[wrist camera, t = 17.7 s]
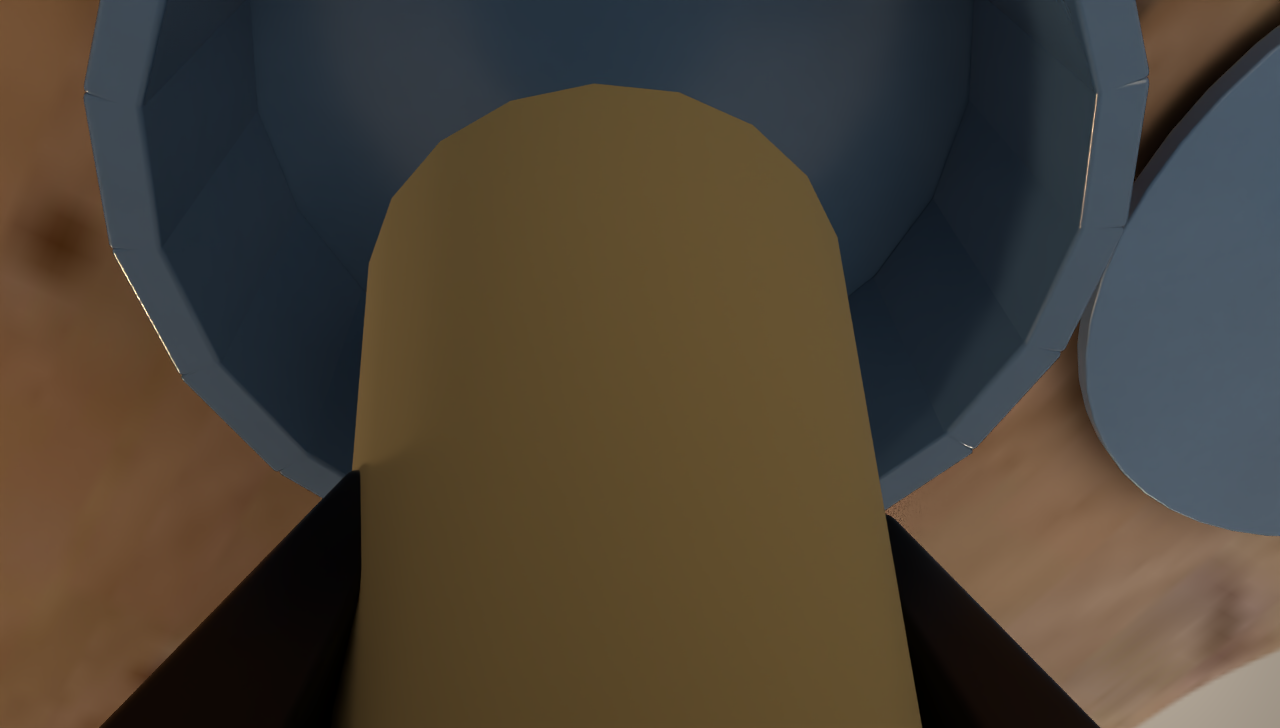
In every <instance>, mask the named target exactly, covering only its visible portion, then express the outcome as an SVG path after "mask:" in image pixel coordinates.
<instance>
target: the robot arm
mask: <svg viewBox="0 0 1280 728" xmlns="http://www.w3.org/2000/svg"><path fill="white" fill-rule="evenodd" d="M885 516H886V521H887V527H888V533H889V539H890V545H891V550H892V556H893V562H894V568H895V574H896V579H897V585H898V591H899V597H900V602H901V608H902V614H903V620H904V626H905V631H906V637H907V643H908V649H909V655H910V660H911V666H912V672H913V678H914V684H915V689H916V695H917V701H918V707H919V713H920V718H921V724H922V728H1100V727H1099V726H1098V725H1097V724H1096V723H1095V722H1094V721H1093V720H1092V719H1091V718H1090V717H1089V716H1088V715H1087V714H1086V713H1085V712H1084V711H1083V710H1082V709H1081V708H1080V707H1079V706H1078V705H1077V704H1076V703H1075V702H1074V701H1073V700H1072V699H1071V698H1070V696H1069V695H1068V694H1067V693H1066V692H1065V691H1064V690H1063V689H1062V688H1061V687H1060V686H1059V685H1058V684H1057V683H1056V682H1055V681H1054V680H1053V679H1052V678H1051V677H1050V676H1049V675H1048V674H1047V673H1046V672H1045V671H1044V670H1043V669H1042V668H1041V667H1040V666H1039V665H1038V664H1037V663H1036V662H1035V661H1034V660H1033V659H1032V658H1031V657H1030V656H1029V655H1028V654H1027V653H1026V652H1025V651H1024V650H1023V649H1022V648H1021V647H1020V646H1019V645H1018V644H1017V643H1016V642H1015V641H1014V640H1013V639H1012V638H1011V637H1010V636H1009V635H1008V634H1007V633H1006V632H1005V630H1004V629H1003V628H1002V627H1001V626H1000V625H999V624H998V623H997V622H996V621H995V620H994V619H993V618H992V617H991V616H990V615H989V614H988V613H987V612H986V611H985V610H984V609H983V608H982V607H981V606H980V605H979V604H978V603H977V602H976V601H975V600H974V599H973V598H972V597H971V596H970V595H969V594H968V593H967V592H966V591H965V590H964V589H963V588H962V587H961V586H960V585H959V584H958V583H957V582H956V581H955V580H954V579H953V578H952V577H951V576H950V575H949V574H948V573H947V572H946V571H945V570H944V569H943V568H942V567H941V566H940V564H939V563H938V562H937V561H936V560H935V559H934V558H933V557H932V556H931V555H930V554H929V553H928V552H927V551H926V550H925V549H924V548H923V547H922V546H921V545H920V544H919V543H918V542H917V541H916V540H915V539H914V538H913V537H912V536H911V535H910V534H909V533H908V532H907V531H906V530H905V529H904V528H903V527H902V526H901V525H900V524H899V523H898V522H897V521H896V520H895V519H894V518H892V517H891V516H889V515H886V514H885ZM360 583H361V483H360V470H353V471H351V472H349V473H348V474H346V475H345V476H344V477H343V478H342V480H341V481H340V482H339V483H338V484H337V485H336V486H335V487H334V488H333V489H332V490H331V491H330V492H329V493H328V494H327V495H326V496H325V497H324V498H323V499H322V500H321V501H320V502H319V503H318V504H317V505H316V506H315V507H314V508H313V509H312V510H311V511H310V512H309V513H308V514H307V515H306V516H305V517H304V518H303V520H302V521H301V522H300V523H299V524H298V525H297V526H296V527H295V528H294V529H293V530H292V531H291V532H290V533H289V534H288V535H287V536H286V537H285V538H284V539H283V540H282V541H281V542H280V543H279V544H278V545H277V546H276V547H275V548H274V549H273V550H272V551H271V552H270V553H269V554H268V555H267V556H266V557H265V558H264V559H263V560H262V562H261V563H260V564H259V565H258V566H257V567H256V568H255V569H254V570H253V571H252V572H251V573H250V574H249V575H248V576H247V577H246V578H245V579H244V580H243V581H242V582H241V583H240V584H239V585H238V586H237V587H236V588H235V589H234V590H233V591H232V592H231V593H230V594H229V595H228V596H227V597H226V598H225V599H224V600H223V601H222V603H221V604H220V605H219V606H218V607H217V608H216V609H215V610H214V611H213V612H212V613H211V614H210V615H209V616H208V617H207V618H206V619H205V620H204V621H203V622H202V623H201V624H200V625H199V626H198V627H197V628H196V629H195V630H194V631H193V632H192V633H191V634H190V635H189V636H188V637H187V638H186V639H185V640H184V641H183V642H182V643H181V645H180V646H179V647H178V648H177V649H176V650H175V651H174V652H173V653H172V654H171V655H170V656H169V657H168V658H167V659H166V660H165V661H164V662H163V663H162V664H161V665H160V666H159V667H158V668H157V669H156V670H155V671H154V672H153V673H152V674H151V675H150V676H149V677H148V678H147V679H146V680H145V681H144V682H143V683H142V684H141V685H140V687H139V688H138V689H137V690H136V691H135V692H134V693H133V694H132V695H131V696H130V697H129V698H128V699H127V700H126V701H125V702H124V703H123V704H122V705H121V706H120V707H119V708H118V709H117V710H116V711H115V712H114V713H113V714H112V715H111V716H110V717H109V718H108V719H107V720H106V721H105V722H104V723H103V724H102V725H101V726H100V727H99V728H331V724H332V712H333V707H334V703H335V698H336V694H337V690H338V685H339V681H340V676H341V672H342V668H343V663H344V659H345V654H346V650H347V646H348V641H349V637H350V632H351V628H352V624H353V619H354V615H355V610H356V606H357V602H358V597H359V592H360Z"/></svg>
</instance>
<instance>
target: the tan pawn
mask: <svg viewBox="0 0 1280 728" xmlns="http://www.w3.org/2000/svg"><path fill="white" fill-rule="evenodd" d="M353 470H360V483H361V583H360V592H359V597H358V602H357V606H356V610H355V615H354V619H353V624H352V628H351V632H350V637H349V641H348V646H347V650H346V654H345V659H344V663H343V668H342V672H341V676H340V681H339V685H338V690H337V694H336V698H335V703H334V707H333V712H332V724H331V728H922V724H921V718H920V713H919V707H918V701H917V695H916V689H915V684H914V678H913V672H912V666H911V660H910V655H909V649H908V643H907V637H906V631H905V626H904V620H903V614H902V608H901V602H900V597H899V591H898V585H897V579H896V574H895V568H894V562H893V556H892V550H891V545H890V539H889V533H888V527H887V521H886V516H885V510H884V504H883V498H882V492H881V487H880V481H879V475H878V469H877V463H876V458H875V452H874V446H873V440H872V434H871V429H870V423H869V417H868V411H867V406H866V400H865V394H864V388H863V382H862V377H861V371H860V365H859V359H858V353H857V348H856V342H855V336H854V330H853V324H852V319H851V313H850V307H849V301H848V295H847V290H846V284H845V278H844V272H843V266H842V261H841V255H840V249H839V243H838V237H837V235H836V233H835V231H834V229H833V227H832V225H831V223H830V221H829V219H828V217H827V215H826V213H825V211H824V209H823V207H822V205H821V203H820V201H819V199H818V197H817V195H816V193H815V191H814V189H813V187H812V185H811V183H810V181H809V178H808V176H807V175H806V174H805V173H803V172H802V171H801V170H800V169H799V168H798V167H797V166H796V165H795V164H794V163H793V162H792V161H791V160H790V159H789V158H787V157H786V156H785V155H784V154H783V153H782V152H781V151H780V150H779V149H778V148H777V147H776V146H775V145H774V144H773V143H771V142H770V141H769V140H768V139H767V138H766V137H765V136H764V135H763V134H762V133H761V132H760V131H759V130H758V129H757V128H755V127H754V126H753V125H752V124H749V123H747V122H745V121H743V120H740V119H738V118H736V117H734V116H731V115H729V114H727V113H724V112H722V111H720V110H718V109H715V108H713V107H711V106H709V105H706V104H704V103H702V102H700V101H697V100H695V99H693V98H691V97H688V96H686V95H684V94H682V93H679V92H672V91H662V90H653V89H643V88H633V87H623V86H614V85H604V84H589V85H584V86H579V87H575V88H570V89H565V90H560V91H555V92H551V93H546V94H541V95H536V96H531V97H527V98H522V99H517V100H512V101H509V102H508V103H506V104H504V105H502V106H501V107H499V108H497V109H495V110H494V111H492V112H490V113H489V114H487V115H485V116H483V117H482V118H480V119H478V120H476V121H475V122H473V123H471V124H469V125H468V126H466V127H464V128H463V129H461V130H459V131H457V132H456V133H454V134H452V135H450V136H449V137H447V138H445V139H443V140H442V141H440V142H439V143H438V145H437V146H436V147H435V148H434V149H433V150H432V152H431V153H430V154H429V155H428V156H427V157H426V159H425V160H424V161H423V162H422V163H421V164H420V166H419V167H418V168H417V169H416V170H415V172H414V173H413V174H412V175H411V176H410V177H409V179H408V180H407V181H406V182H405V183H404V184H403V186H402V187H401V188H400V189H399V190H398V191H397V193H396V194H395V195H394V196H393V197H392V199H391V202H390V204H389V207H388V210H387V213H386V216H385V219H384V221H383V224H382V227H381V230H380V233H379V236H378V238H377V241H376V244H375V247H374V250H373V253H372V256H371V258H370V261H369V267H368V280H367V292H366V304H365V317H364V329H363V341H362V354H361V366H360V378H359V391H358V403H357V416H356V428H355V440H354V453H353V465H352V471H353Z"/></svg>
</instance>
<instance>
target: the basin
mask: <svg viewBox="0 0 1280 728" xmlns="http://www.w3.org/2000/svg"><path fill="white" fill-rule="evenodd" d="M1148 75H1149V67H1148V62H1147V57H1146V52H1145V47H1144V42H1143V36H1142V31H1141V26H1140V21H1139V16H1138V11H1137V5H1136V0H100V2H99V8H98V13H97V18H96V23H95V29H94V34H93V39H92V44H91V50H90V55H89V60H88V66H87V71H86V76H85V81H84V90H85V93H84V97H83V98H84V104H85V110H86V115H87V121H88V127H89V132H90V138H91V144H92V149H93V155H94V161H95V166H96V172H97V177H98V183H99V189H100V194H101V200H102V206H103V211H104V217H105V222H106V228H107V234H108V239H109V245H110V246H111V247H112V248H113V255H114V257H115V258H116V260H117V262H118V264H119V266H120V268H121V269H122V271H123V273H124V275H125V277H126V278H127V280H128V282H129V284H130V286H131V288H132V289H133V291H134V293H135V295H136V297H137V298H138V300H139V302H140V304H141V306H142V308H143V309H144V311H145V313H146V315H147V317H148V319H149V320H150V322H151V324H152V326H153V328H154V329H155V331H156V333H157V335H158V337H159V339H160V340H161V342H162V344H163V346H164V348H165V349H166V351H167V353H168V355H169V357H170V359H171V360H172V362H173V364H174V366H175V368H176V370H177V371H178V373H179V374H181V375H182V376H181V378H182V380H183V381H184V382H185V383H186V384H187V385H188V386H189V387H190V388H191V389H192V390H193V391H194V392H195V393H196V394H197V395H198V396H199V397H200V398H201V399H202V400H204V401H205V402H206V403H207V404H208V405H209V406H210V407H211V408H212V409H213V410H214V411H215V412H216V413H217V414H218V415H219V416H220V417H221V418H222V419H223V420H224V421H225V422H226V423H227V424H228V425H229V426H230V427H231V428H232V429H233V430H234V431H235V432H236V433H237V434H238V435H239V436H240V437H241V438H242V439H243V440H244V441H245V442H246V443H247V444H248V445H249V446H250V447H251V448H252V449H253V450H254V451H255V452H256V453H257V454H258V455H259V456H260V457H261V458H262V459H263V460H264V461H265V462H266V463H267V464H268V465H269V466H270V467H271V468H272V469H273V470H274V471H279V472H280V473H281V475H283V476H285V477H287V478H288V479H290V480H292V481H293V482H295V483H297V484H299V485H300V486H302V487H304V488H306V489H307V490H309V491H311V492H312V493H314V494H316V495H318V496H319V497H321V498H324V497H325V496H326V495H327V494H328V493H329V492H330V491H331V490H332V489H333V488H334V487H335V486H336V485H337V484H338V483H339V482H340V481H341V480H342V478H343V477H344V476H345V475H346V474H348V473H349V472H351V471H352V465H353V453H354V440H355V428H356V416H357V403H358V391H359V378H360V366H361V354H362V341H363V329H364V317H365V304H366V292H367V280H368V267H369V261H370V258H371V256H372V253H373V250H374V247H375V244H376V241H377V238H378V236H379V233H380V230H381V227H382V224H383V221H384V219H385V216H386V213H387V210H388V207H389V204H390V202H391V199H392V197H393V196H394V195H395V194H396V193H397V191H398V190H399V189H400V188H401V187H402V186H403V184H404V183H405V182H406V181H407V180H408V179H409V177H410V176H411V175H412V174H413V173H414V172H415V170H416V169H417V168H418V167H419V166H420V164H421V163H422V162H423V161H424V160H425V159H426V157H427V156H428V155H429V154H430V153H431V152H432V150H433V149H434V148H435V147H436V146H437V145H438V143H439V142H440V141H442V140H443V139H445V138H447V137H449V136H450V135H452V134H454V133H456V132H457V131H459V130H461V129H463V128H464V127H466V126H468V125H469V124H471V123H473V122H475V121H476V120H478V119H480V118H482V117H483V116H485V115H487V114H489V113H490V112H492V111H494V110H495V109H497V108H499V107H501V106H502V105H504V104H506V103H508V102H509V101H512V100H517V99H522V98H527V97H531V96H536V95H541V94H546V93H551V92H555V91H560V90H565V89H570V88H575V87H579V86H584V85H589V84H604V85H614V86H623V87H633V88H643V89H653V90H662V91H672V92H679V93H682V94H684V95H686V96H688V97H691V98H693V99H695V100H697V101H700V102H702V103H704V104H706V105H709V106H711V107H713V108H715V109H718V110H720V111H722V112H724V113H727V114H729V115H731V116H734V117H736V118H738V119H740V120H743V121H745V122H747V123H749V124H752V125H753V126H754V127H755V128H757V129H758V130H759V131H760V132H761V133H762V134H763V135H764V136H765V137H766V138H767V139H768V140H769V141H770V142H771V143H773V144H774V145H775V146H776V147H777V148H778V149H779V150H780V151H781V152H782V153H783V154H784V155H785V156H786V157H787V158H789V159H790V160H791V161H792V162H793V163H794V164H795V165H796V166H797V167H798V168H799V169H800V170H801V171H802V172H803V173H805V174H806V175H807V176H808V178H809V181H810V183H811V185H812V187H813V189H814V191H815V193H816V195H817V197H818V199H819V201H820V203H821V205H822V207H823V209H824V211H825V213H826V215H827V217H828V219H829V221H830V223H831V225H832V227H833V229H834V231H835V233H836V235H837V237H838V243H839V249H840V255H841V261H842V266H843V272H844V278H845V284H846V290H847V295H848V301H849V307H850V313H851V319H852V324H853V330H854V336H855V342H856V348H857V353H858V359H859V365H860V371H861V377H862V382H863V388H864V394H865V400H866V406H867V411H868V417H869V423H870V429H871V434H872V440H873V446H874V452H875V458H876V463H877V469H878V475H879V481H880V487H881V492H882V498H883V504H884V510H886V509H888V508H889V507H891V506H892V505H894V504H895V503H897V502H898V501H900V500H901V499H903V498H904V497H906V496H907V495H909V494H910V493H912V492H913V491H915V490H917V489H918V488H920V487H921V486H923V485H924V484H926V483H927V482H929V481H930V480H932V479H933V478H935V477H936V476H938V475H939V474H941V473H942V472H944V471H945V470H947V469H948V468H950V467H951V466H953V465H954V464H956V463H957V462H959V461H961V460H962V459H964V458H965V457H967V456H968V455H970V454H971V453H972V449H975V448H976V447H977V446H978V445H979V444H980V443H981V442H982V441H983V440H984V439H985V438H986V437H987V435H988V434H989V433H990V432H991V431H992V430H993V429H994V428H995V427H996V426H997V425H998V423H999V422H1000V421H1001V420H1002V419H1003V418H1004V417H1005V416H1006V415H1007V414H1008V413H1009V411H1010V410H1011V409H1012V408H1013V407H1014V406H1015V405H1016V404H1017V403H1018V402H1019V401H1020V399H1021V398H1022V397H1023V396H1024V395H1025V394H1026V393H1027V392H1028V391H1029V390H1030V389H1031V387H1032V386H1033V385H1034V384H1035V383H1036V382H1037V381H1038V380H1039V379H1040V378H1041V377H1042V375H1043V374H1044V373H1045V372H1046V371H1047V370H1048V369H1049V368H1050V367H1051V366H1052V365H1053V363H1054V362H1055V361H1056V360H1057V359H1058V358H1059V357H1060V352H1061V351H1063V350H1064V349H1065V348H1066V346H1067V344H1068V342H1069V340H1070V338H1071V336H1072V334H1073V332H1074V330H1075V328H1076V326H1077V324H1078V322H1079V320H1080V318H1081V316H1082V314H1083V312H1084V310H1085V308H1086V306H1087V304H1088V302H1089V300H1090V298H1091V296H1092V294H1093V292H1094V290H1095V288H1096V287H1097V285H1098V283H1099V281H1100V279H1101V277H1102V275H1103V273H1104V271H1105V269H1106V267H1107V265H1108V263H1109V261H1110V259H1111V257H1112V255H1113V253H1114V251H1115V249H1116V247H1117V245H1118V243H1119V241H1120V239H1121V237H1122V235H1123V233H1124V227H1123V226H1125V225H1126V223H1127V220H1128V214H1129V207H1130V201H1131V195H1132V188H1133V182H1134V176H1135V170H1136V163H1137V157H1138V151H1139V144H1140V138H1141V132H1142V125H1143V119H1144V113H1145V107H1146V100H1147V94H1148V88H1149V80H1148V77H1147V76H1148Z"/></svg>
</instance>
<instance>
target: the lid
mask: <svg viewBox="0 0 1280 728" xmlns="http://www.w3.org/2000/svg"><path fill="white" fill-rule="evenodd" d="M1123 227H1124V233H1123V235H1122V237H1121V239H1120V241H1119V243H1118V245H1117V247H1116V249H1115V251H1114V253H1113V255H1112V257H1111V259H1110V261H1109V263H1108V265H1107V267H1106V269H1105V271H1104V273H1103V275H1102V277H1101V279H1100V281H1099V283H1098V285H1097V287H1096V288H1095V290H1094V292H1093V294H1092V296H1091V298H1090V300H1089V302H1088V304H1087V306H1086V308H1085V310H1084V312H1083V314H1082V316H1081V318H1080V327H1079V335H1078V343H1077V350H1078V372H1079V383H1080V387H1081V391H1082V396H1083V400H1084V404H1085V408H1086V412H1087V414H1088V416H1089V419H1090V421H1091V423H1092V425H1093V427H1094V430H1095V432H1096V434H1097V436H1098V438H1099V440H1100V441H1101V443H1102V444H1103V446H1104V448H1105V449H1106V450H1107V452H1108V453H1109V455H1110V456H1111V457H1112V459H1113V460H1114V462H1115V463H1116V464H1117V466H1118V467H1119V468H1120V470H1121V471H1122V473H1123V474H1125V475H1126V476H1127V477H1128V478H1129V479H1130V480H1131V481H1132V482H1133V483H1134V484H1135V485H1136V486H1137V487H1139V488H1140V489H1141V490H1142V491H1143V492H1144V493H1145V494H1147V495H1148V496H1150V497H1152V498H1153V499H1155V500H1156V501H1158V502H1159V503H1161V504H1163V505H1164V506H1166V507H1167V508H1169V509H1171V510H1173V511H1175V512H1177V513H1180V514H1182V515H1184V516H1187V517H1189V518H1191V519H1194V520H1196V521H1198V522H1201V523H1205V524H1209V525H1212V526H1216V527H1220V528H1223V529H1227V530H1231V531H1237V532H1244V533H1251V534H1258V535H1265V536H1280V25H1279V26H1277V27H1276V28H1275V29H1274V30H1272V31H1271V32H1270V33H1268V34H1267V35H1266V36H1265V37H1263V38H1262V39H1261V40H1260V41H1258V42H1257V43H1256V44H1255V45H1254V46H1253V47H1252V48H1251V49H1250V50H1249V51H1247V52H1246V53H1245V54H1244V55H1243V56H1242V57H1241V58H1240V59H1239V60H1238V61H1237V62H1236V63H1235V64H1234V65H1233V66H1232V67H1231V68H1230V69H1228V70H1227V71H1226V72H1225V73H1224V74H1223V75H1222V76H1221V77H1220V78H1219V79H1218V80H1217V81H1216V82H1215V83H1214V84H1213V85H1212V86H1211V87H1210V88H1209V89H1208V90H1207V91H1206V92H1205V93H1204V94H1203V95H1202V97H1201V98H1200V99H1199V100H1198V101H1197V102H1196V103H1195V105H1194V106H1193V107H1192V108H1191V109H1190V110H1189V111H1188V113H1187V114H1186V115H1185V116H1184V117H1183V118H1182V119H1181V121H1180V122H1179V123H1178V124H1177V125H1176V126H1175V127H1174V129H1173V130H1172V131H1171V132H1170V133H1169V134H1168V136H1167V137H1166V139H1165V140H1164V141H1163V143H1162V144H1161V146H1160V147H1159V148H1158V150H1157V151H1156V153H1155V154H1154V155H1153V157H1152V158H1151V159H1150V161H1149V162H1148V164H1147V165H1146V166H1145V168H1144V169H1143V171H1142V172H1141V173H1140V175H1139V176H1138V178H1137V179H1136V181H1135V183H1134V184H1133V188H1132V195H1131V201H1130V207H1129V214H1128V220H1127V223H1126V225H1125V226H1123Z"/></svg>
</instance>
